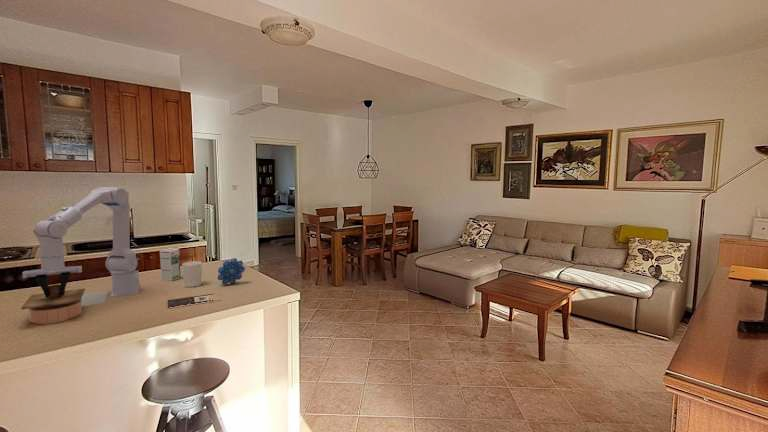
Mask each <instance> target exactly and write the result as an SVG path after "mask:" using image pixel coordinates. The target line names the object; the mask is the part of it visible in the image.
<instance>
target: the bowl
mask: <svg viewBox="0 0 768 432" xmlns="http://www.w3.org/2000/svg"><path fill="white" fill-rule="evenodd" d="M27 310H28V311H27V312H28V321H29V322H30V323H31V324H32V323H33V324H40V325H50V324H55V323H62V322H65V321H69V320H70V319H72V318H74V317H77V316H80V315H81V314H82V312H83V306H82V301H80V302H73V303H66V304H58V305H51V306H44V307H36V308H29V309H27Z"/></svg>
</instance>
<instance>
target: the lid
mask: <svg viewBox="0 0 768 432" xmlns="http://www.w3.org/2000/svg"><path fill="white" fill-rule="evenodd" d="M85 290H86V289H85V288H77V289H70V290H65V294H64V295H62V296H61V284H60V283H59V284H57V283H56V284H51V285H48V292H49V297H45V294H44V292H43V293H36V294H35V293H34V294H30V296H29V298H27V300H26V301H25V302H24V303H23V304H22V306H21V308H20V309H21V310H28V309H29V308H36V307H44V306H51V305H58V304H66V303H73V302H80V301H81V298H82V296H83V294H85Z"/></svg>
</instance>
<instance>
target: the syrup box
mask: <svg viewBox="0 0 768 432" xmlns="http://www.w3.org/2000/svg"><path fill="white" fill-rule="evenodd" d="M159 259H160V260H159V261H160V262H159V263H160V277H161V281H166V282H172V281H175V280H178V279H181V277H182V276H181V259H180V248H177V247H169V248H166V249H161V250H159Z"/></svg>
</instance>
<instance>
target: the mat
mask: <svg viewBox="0 0 768 432" xmlns="http://www.w3.org/2000/svg"><path fill="white" fill-rule="evenodd" d="M107 295H108V291H107V290H105V291H97V292H96V291H95V292H89V293H83V296H82V298H81V301H82V307H86V306H91V305H92V306H93V305H98V304H105V303H106V298H107Z"/></svg>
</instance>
